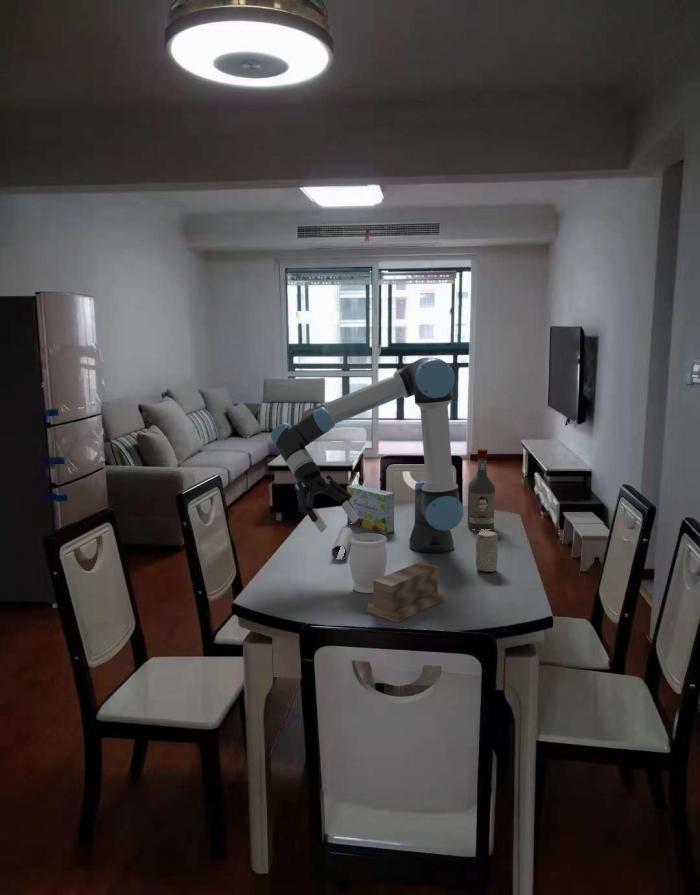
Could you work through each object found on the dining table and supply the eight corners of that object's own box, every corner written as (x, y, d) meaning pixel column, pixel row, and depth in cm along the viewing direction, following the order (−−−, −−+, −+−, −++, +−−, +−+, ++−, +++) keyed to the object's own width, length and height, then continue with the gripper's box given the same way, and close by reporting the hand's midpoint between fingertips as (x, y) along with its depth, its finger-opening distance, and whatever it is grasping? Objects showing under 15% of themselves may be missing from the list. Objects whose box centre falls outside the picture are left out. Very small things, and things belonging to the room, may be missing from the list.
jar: (377, 580, 197) (378, 531, 194) (392, 592, 187) (392, 540, 185) (344, 585, 193) (343, 534, 191) (357, 597, 183) (357, 544, 181)
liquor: (466, 524, 258) (468, 448, 253) (490, 525, 257) (492, 448, 253) (470, 531, 249) (471, 451, 244) (494, 531, 248) (497, 451, 244)
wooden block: (413, 591, 188) (414, 560, 186) (443, 600, 181) (444, 568, 180) (367, 612, 173) (367, 578, 172) (397, 622, 166) (398, 588, 165)
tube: (337, 528, 240) (328, 547, 215) (351, 523, 239) (344, 543, 215) (342, 541, 240) (334, 563, 216) (356, 537, 240) (349, 558, 215)
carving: (500, 569, 206) (501, 531, 204) (491, 575, 200) (492, 537, 198) (481, 565, 210) (482, 528, 208) (471, 572, 204) (472, 533, 202)
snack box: (346, 523, 260) (345, 485, 258) (356, 521, 264) (356, 483, 262) (384, 534, 245) (384, 494, 243) (395, 531, 249) (395, 492, 246)
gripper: (326, 470, 214) (361, 523, 206) (266, 481, 195) (302, 541, 188) (338, 455, 209) (374, 509, 201) (278, 466, 191) (316, 526, 183)
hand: (340, 525), depth 195 cm, fingers open, 13 cm apart
